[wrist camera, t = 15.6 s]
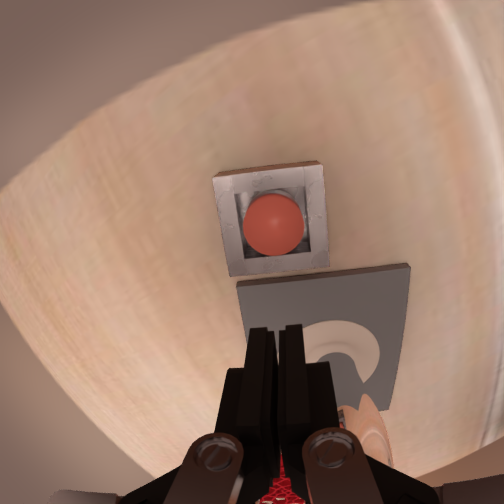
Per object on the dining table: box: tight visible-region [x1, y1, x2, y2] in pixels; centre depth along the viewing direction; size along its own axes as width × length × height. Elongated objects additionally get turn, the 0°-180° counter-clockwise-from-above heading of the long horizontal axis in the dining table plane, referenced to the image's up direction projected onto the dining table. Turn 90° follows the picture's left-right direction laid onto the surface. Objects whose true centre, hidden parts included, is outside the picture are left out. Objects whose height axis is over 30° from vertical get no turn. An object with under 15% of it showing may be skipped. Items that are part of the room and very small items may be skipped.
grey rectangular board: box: [236, 263, 411, 411], centre depth 31 cm, size 20×16×1 cm
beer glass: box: [305, 342, 394, 469], centre depth 24 cm, size 7×7×15 cm
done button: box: [243, 189, 304, 256], centre depth 24 cm, size 4×4×3 cm
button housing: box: [212, 161, 330, 277], centre depth 25 cm, size 8×8×3 cm
